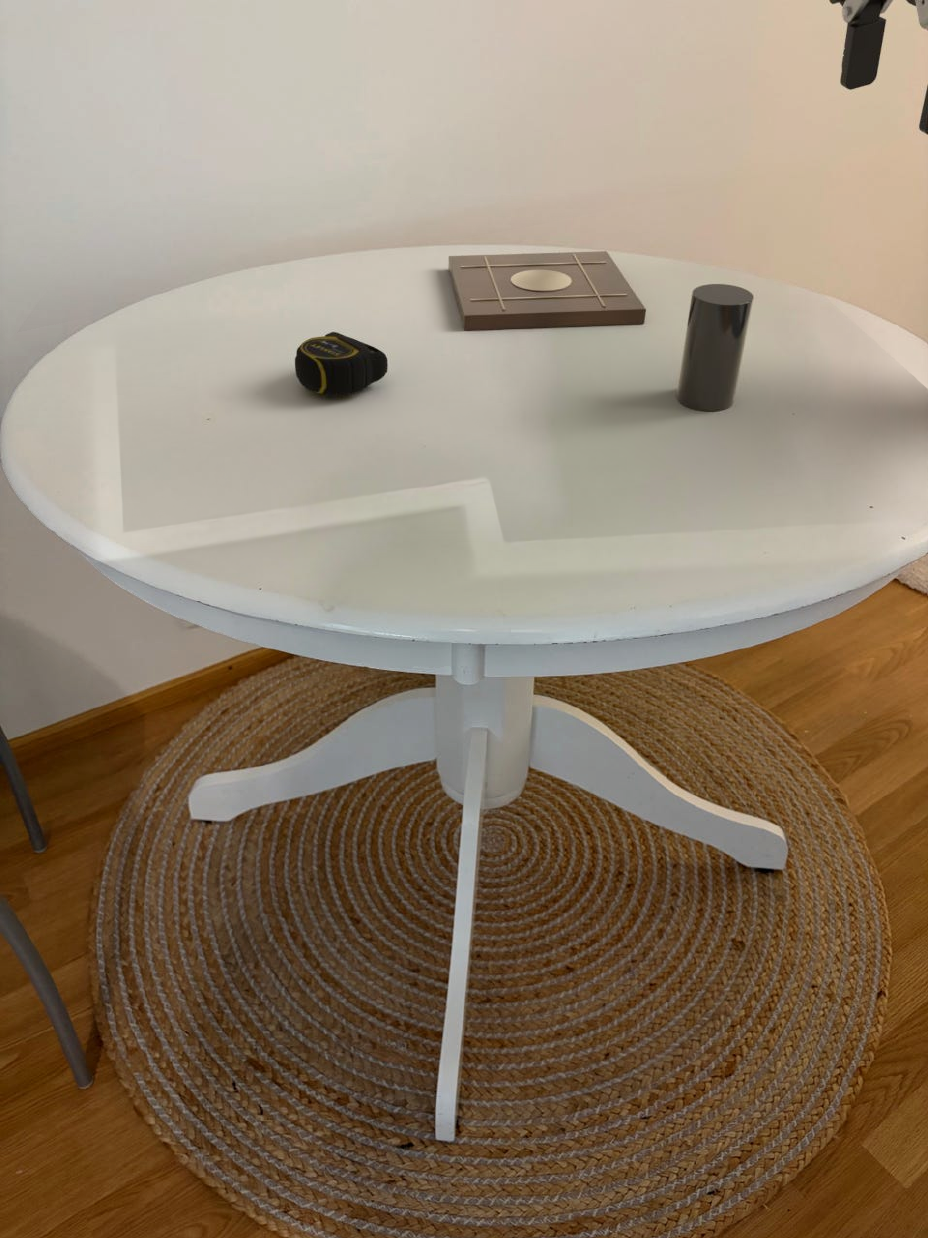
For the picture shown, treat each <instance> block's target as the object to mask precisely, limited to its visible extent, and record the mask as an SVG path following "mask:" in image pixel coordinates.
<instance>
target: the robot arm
mask: <svg viewBox="0 0 928 1238" xmlns="http://www.w3.org/2000/svg"><path fill="white" fill-rule="evenodd" d="M828 1H829V2H830V4H832V5H835V4H840V6H841V7H842V8H841V14H842V15H841V17H842V19H843V21H844V22H845V23H847V25H846V31H845V39H844V45H843V51H842V57H841V58H842V59H841V66H840V67H841V72H840V79H839V83H840V86H842V87H844V88H845V89H846V90H855V89H858V88H863V87H866V86H869V85H872V83H874V81H875V80H876V79H877V76H878V70H879V64H880V59H881V54H882V53H881V52H882V48H883V41H884V36H885V30H886V24H887V19H886V18H884V17H883V16H881V15H882V14H884V13H886V11H887V10H888V8H889V7H890V6H891V4H892V3H893V1H894V0H828ZM905 1H906V2H907V3H908V4H909V5H912V6H914V7H916V12H917V17H918V23H919V25H920V27H921V29H922V28H923V29H924V30H926V31H928V0H905ZM919 119H920V120H919V124H918V129H919V131H920V132H922V133H923V134H925V135H927V136H928V85H927V86H926V91H925V95H924V102H923V105H922V110H921V114H920V118H919Z"/></svg>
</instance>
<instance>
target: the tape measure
mask: <svg viewBox="0 0 928 1238" xmlns="http://www.w3.org/2000/svg"><path fill="white" fill-rule="evenodd" d="M388 366H389V365H388V357H387V355H386V354H385V352H383V351H382V350H380V349H379V348H376V347H375V346H372V345H370V344H368V343H365V342H362V341H360V340H358V339H355V338H352V337H349V336H347V335H345V334H342V333H339V332H338V331H337V332H336V331H331V332H329V333H326V334H325V335H323V336H317V337H311V338H309V339H306V340H305V341H303V342H302V343H301V344H300V345H299V346H298V347H297V349H296V354H295V357H294V369H295V376H296V378H297V379H298V382H299V383H300V385H301V386H302V387H304V389H306V390H308V391H311V392H313V393H315V394H316V393H317V394H321V395H325V396H331V397H335V396H346V395H352V394H356V393H360V392H361V391H364V389H366V388H368V387H369V386H371V385H372V384H375V383H376V382H378V381H380V380H381V379H383V378H384V377H385V376H386V374H387V373H388Z"/></svg>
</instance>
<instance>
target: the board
mask: <svg viewBox="0 0 928 1238" xmlns="http://www.w3.org/2000/svg"><path fill="white" fill-rule="evenodd" d="M448 273H449V276H450V280H451V283H452V287H453V291H454V296H455V299H456V303H457V306H458V310H459V311H458V312H459V314H460V318H461V323H462V325H463V330H464V331H484V330H486V331H487V330H511V329H515V330H516V329H538V328H540V329H541V328H565V327H566V328H567V327H593V326H621V325H622V326H624V325H644V324H645V320H646V313H647V308H646V307H645V306H644V304H643V302H642V301H641V300H640V299H639V297H638V295H637V294H636V292H635V290H634V289H633V288H632V287H631V285H630V283H629V282H628V280H627V279H626V277H625V275H623V273H622V272H621V270H620V268H619V267H618V266H617V264H616V263H615V261H614V260H613V258H612V257H611V255H610V254H609V252H608V251H607V250H606V251H605V250H604V251H603V250H602V251H601V250H600V251H599V250H598V251H577V252H576V251H571V252H536V253H504V254H503V253H502V254H475V255H474V254H471V255H449V256H448Z"/></svg>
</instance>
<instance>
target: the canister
mask: <svg viewBox="0 0 928 1238" xmlns="http://www.w3.org/2000/svg"><path fill="white" fill-rule="evenodd" d="M690 298H691V299H690V305H689V311H688V319H687V324H686V332H685V337H684V345H683V350H682V356H681V357H682V359H681V365H680V370H679V378H678V385H677V391H676V399H677V401H678V402H679V403H680V404H681V405H683V406H685V407H687V408H690V409H692V410H697V411H703V412H719V411H723V410H726V409H728V408H730V407H732V406H733V404H734V403H735V398H736V392H737V387H738V382H739V378H740V377H739V376H740V371H741V367H742V366H741V365H742V361H743V355H744V350H745V346H746V345H745V344H746V341H747V335H748V329H749V324H750V319H751V314H752V308H753V303H754V294H753V292H751V291H750V290H748V289H746V288H743V287H740V286H737V285H732V284H726V283H708V284H703V285H700V286H696V287H695V288H694V289H692V292H691V297H690Z"/></svg>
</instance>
